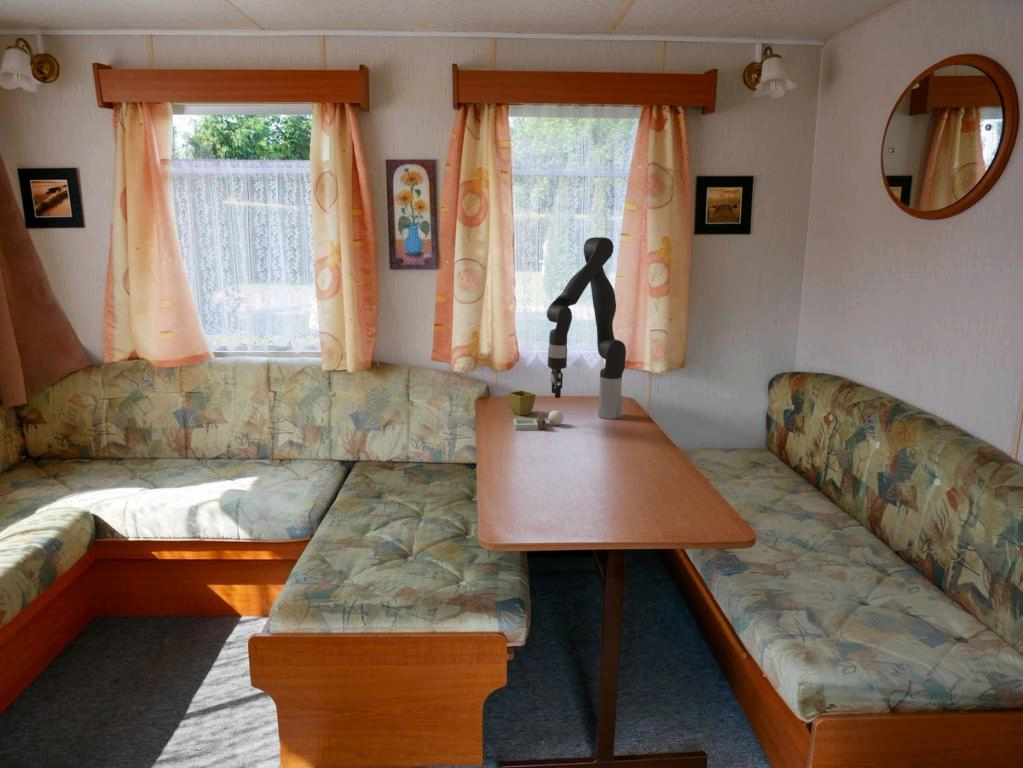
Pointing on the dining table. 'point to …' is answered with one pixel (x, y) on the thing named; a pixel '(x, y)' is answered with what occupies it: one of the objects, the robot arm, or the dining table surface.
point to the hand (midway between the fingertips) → (555, 395)
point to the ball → (555, 417)
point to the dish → (525, 424)
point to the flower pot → (521, 402)
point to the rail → (541, 422)
